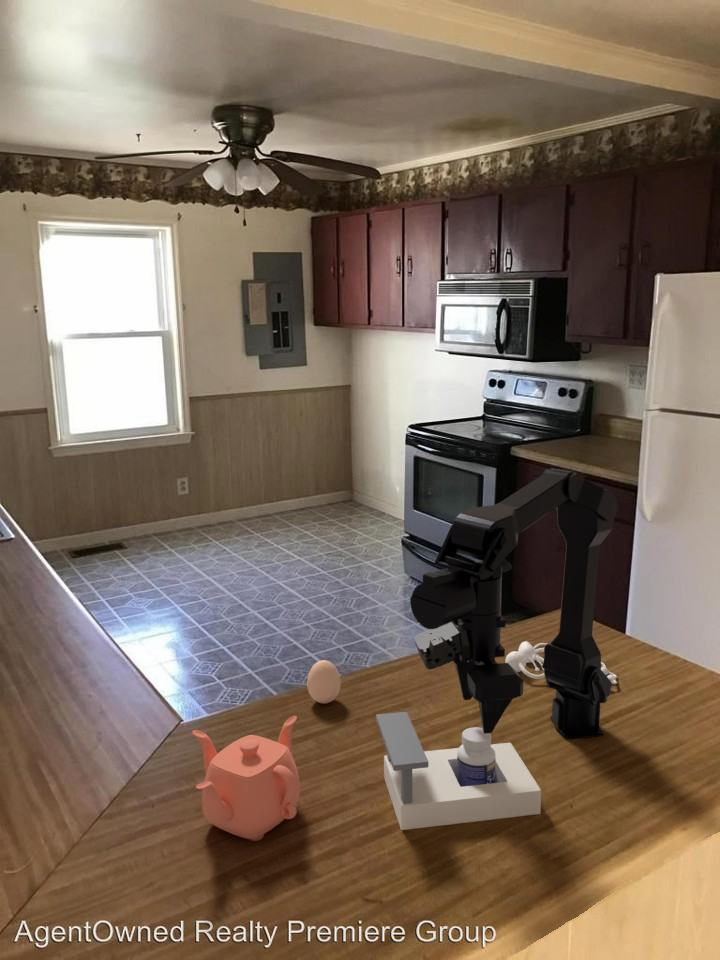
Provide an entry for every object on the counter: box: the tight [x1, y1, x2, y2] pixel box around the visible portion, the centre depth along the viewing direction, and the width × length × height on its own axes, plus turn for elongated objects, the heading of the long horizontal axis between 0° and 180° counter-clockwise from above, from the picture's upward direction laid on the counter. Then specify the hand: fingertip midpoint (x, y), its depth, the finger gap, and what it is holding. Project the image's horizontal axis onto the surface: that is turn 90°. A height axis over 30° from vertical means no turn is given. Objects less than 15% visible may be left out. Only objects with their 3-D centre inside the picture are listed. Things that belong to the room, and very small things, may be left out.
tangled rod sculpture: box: [504, 641, 618, 685], centre depth 145 cm, size 19×14×4 cm
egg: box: [306, 659, 342, 704], centre depth 136 cm, size 6×6×8 cm
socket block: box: [375, 711, 542, 831], centre depth 109 cm, size 20×13×10 cm, turn 99°
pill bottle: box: [457, 726, 496, 787], centre depth 109 cm, size 5×5×9 cm
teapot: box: [192, 715, 301, 842], centre depth 104 cm, size 14×14×11 cm
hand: (476, 715), depth 107 cm, fingers open, 9 cm apart
